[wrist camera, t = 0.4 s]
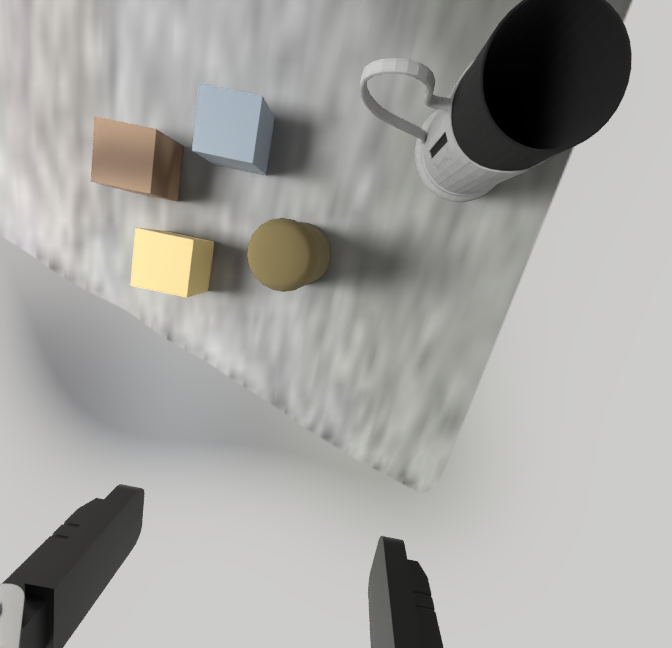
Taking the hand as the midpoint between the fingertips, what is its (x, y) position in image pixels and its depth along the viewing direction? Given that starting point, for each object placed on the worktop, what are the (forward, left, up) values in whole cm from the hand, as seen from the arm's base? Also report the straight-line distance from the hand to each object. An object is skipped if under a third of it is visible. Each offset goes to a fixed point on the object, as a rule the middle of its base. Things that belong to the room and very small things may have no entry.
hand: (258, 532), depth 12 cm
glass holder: (-20, +7, -26) cm, 33 cm away
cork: (-8, -4, -26) cm, 27 cm away
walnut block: (-13, -19, -26) cm, 34 cm away
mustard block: (-5, -15, -26) cm, 30 cm away
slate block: (-17, -11, -26) cm, 33 cm away
